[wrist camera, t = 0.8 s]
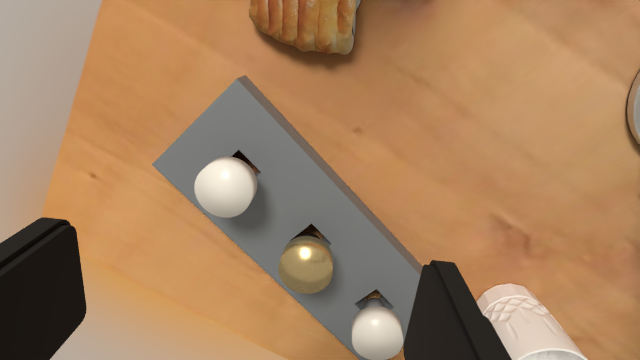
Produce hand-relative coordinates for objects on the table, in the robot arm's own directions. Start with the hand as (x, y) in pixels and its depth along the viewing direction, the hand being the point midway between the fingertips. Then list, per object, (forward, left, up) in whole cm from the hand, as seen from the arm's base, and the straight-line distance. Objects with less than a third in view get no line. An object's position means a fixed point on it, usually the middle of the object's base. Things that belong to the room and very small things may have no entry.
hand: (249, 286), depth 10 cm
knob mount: (-2, +13, -28) cm, 31 cm away
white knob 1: (+6, +7, -25) cm, 27 cm away
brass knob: (-2, +13, -25) cm, 28 cm away
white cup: (-25, +18, -28) cm, 42 cm away
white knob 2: (-10, +19, -25) cm, 33 cm away
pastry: (+2, -8, -28) cm, 29 cm away
